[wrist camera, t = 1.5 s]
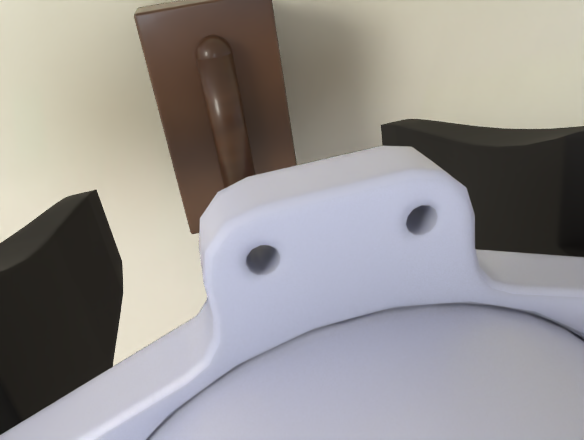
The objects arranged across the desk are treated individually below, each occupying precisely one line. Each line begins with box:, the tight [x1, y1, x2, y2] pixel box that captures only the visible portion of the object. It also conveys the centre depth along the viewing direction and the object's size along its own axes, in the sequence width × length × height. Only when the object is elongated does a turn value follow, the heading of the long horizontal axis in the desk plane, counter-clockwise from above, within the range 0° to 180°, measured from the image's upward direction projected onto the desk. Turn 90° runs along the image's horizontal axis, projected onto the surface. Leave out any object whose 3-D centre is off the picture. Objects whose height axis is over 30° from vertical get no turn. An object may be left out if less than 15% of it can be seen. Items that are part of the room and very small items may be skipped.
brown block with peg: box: [134, 0, 297, 234], centre depth 21 cm, size 8×4×5 cm, turn 8°
